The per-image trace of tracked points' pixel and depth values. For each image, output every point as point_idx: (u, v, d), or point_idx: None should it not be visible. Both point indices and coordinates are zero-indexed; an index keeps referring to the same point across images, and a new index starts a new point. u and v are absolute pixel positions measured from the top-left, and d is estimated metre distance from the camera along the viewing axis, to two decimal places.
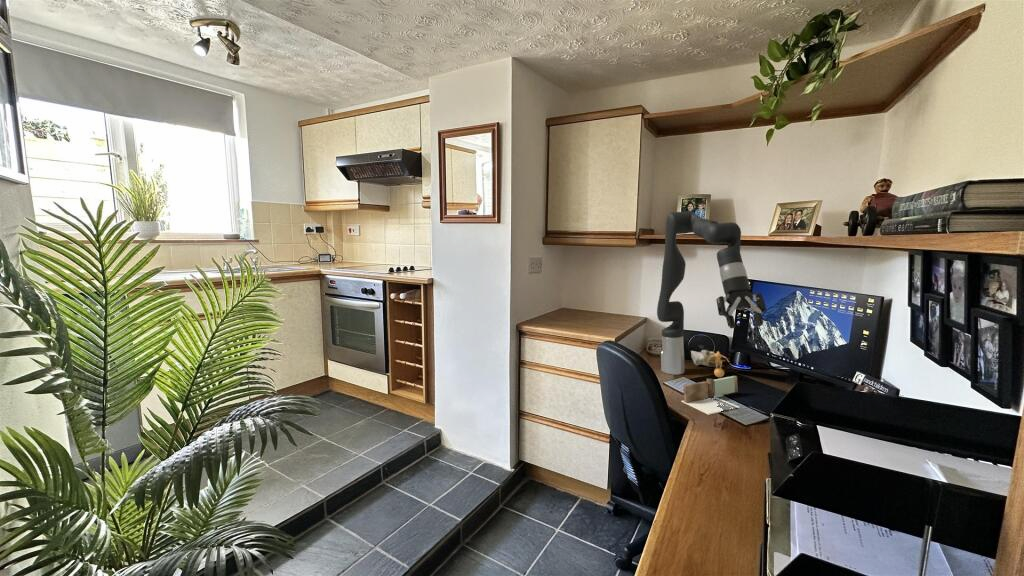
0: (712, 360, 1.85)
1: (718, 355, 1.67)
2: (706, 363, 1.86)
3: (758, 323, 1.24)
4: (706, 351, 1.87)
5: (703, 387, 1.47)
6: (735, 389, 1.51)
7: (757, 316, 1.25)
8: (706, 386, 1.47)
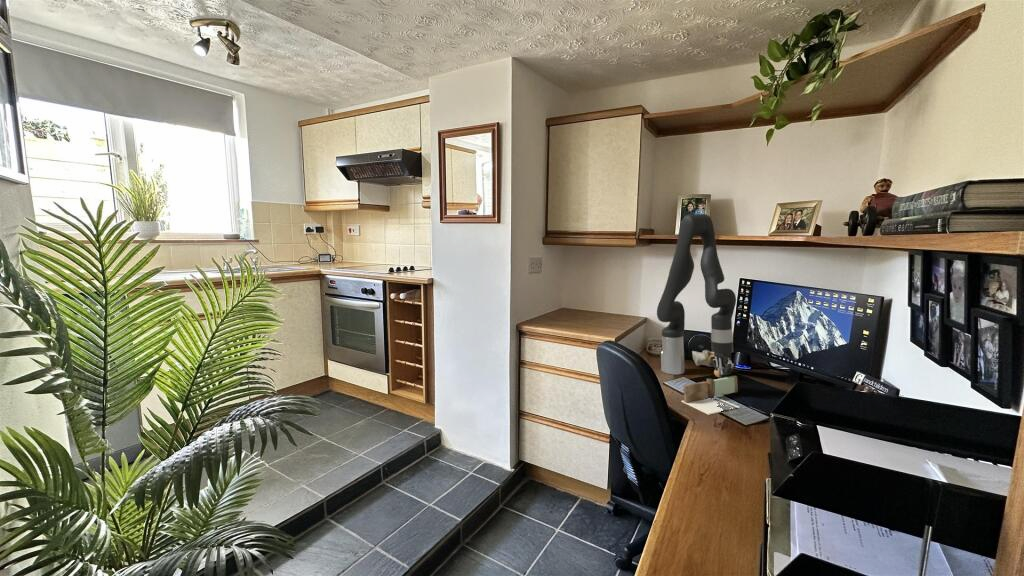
0: None
1: None
2: (707, 363, 1.86)
3: None
4: (707, 351, 1.87)
5: (703, 387, 1.47)
6: (735, 389, 1.51)
7: None
8: (706, 386, 1.47)
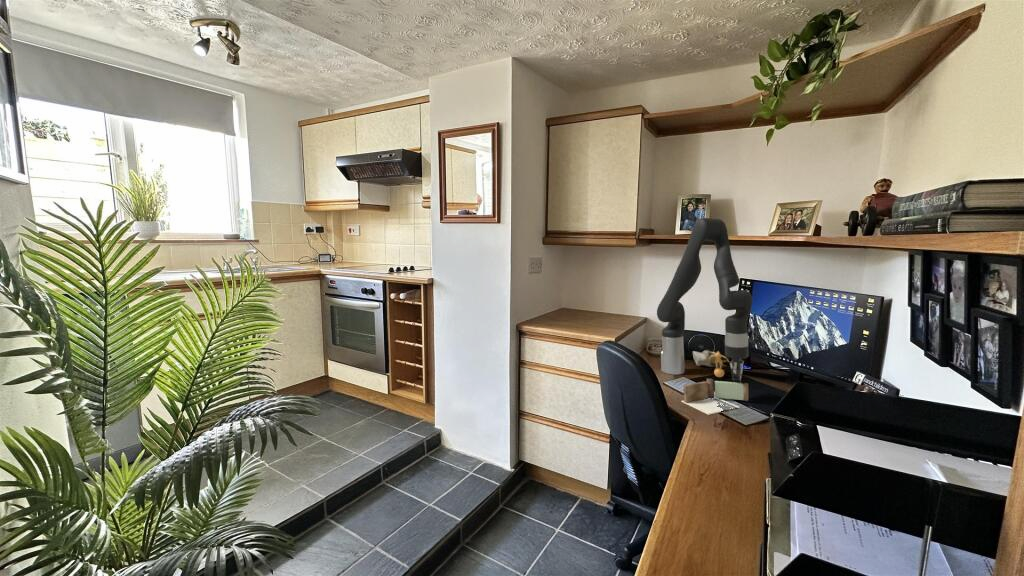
0: (714, 360, 1.84)
1: (718, 355, 1.67)
2: (708, 363, 1.85)
3: None
4: (708, 351, 1.86)
5: (703, 387, 1.47)
6: (744, 397, 1.42)
7: None
8: (706, 386, 1.47)
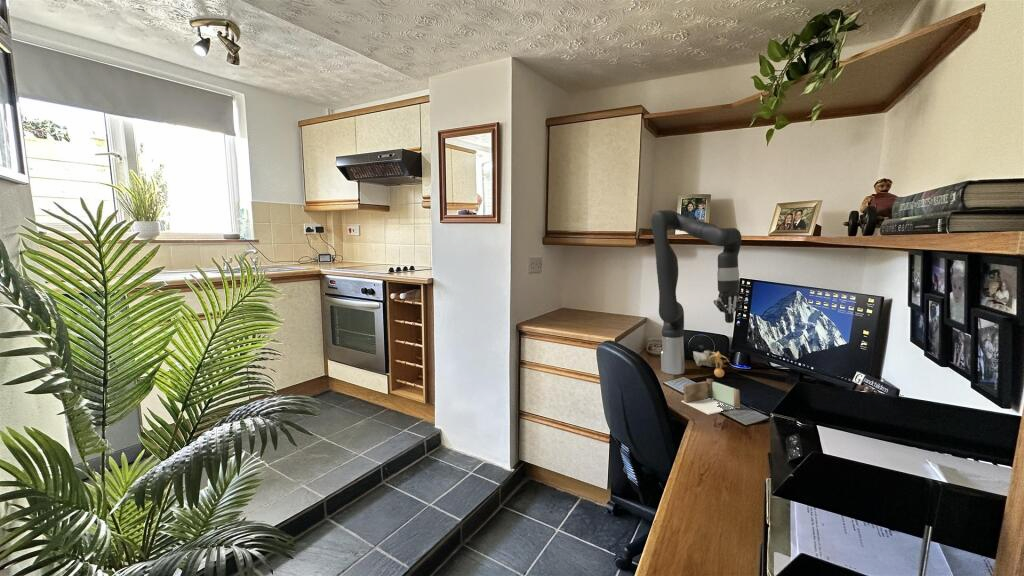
0: None
1: (718, 355, 1.67)
2: (709, 364, 1.85)
3: None
4: (708, 351, 1.86)
5: (703, 387, 1.47)
6: (734, 403, 1.38)
7: None
8: (706, 386, 1.47)
